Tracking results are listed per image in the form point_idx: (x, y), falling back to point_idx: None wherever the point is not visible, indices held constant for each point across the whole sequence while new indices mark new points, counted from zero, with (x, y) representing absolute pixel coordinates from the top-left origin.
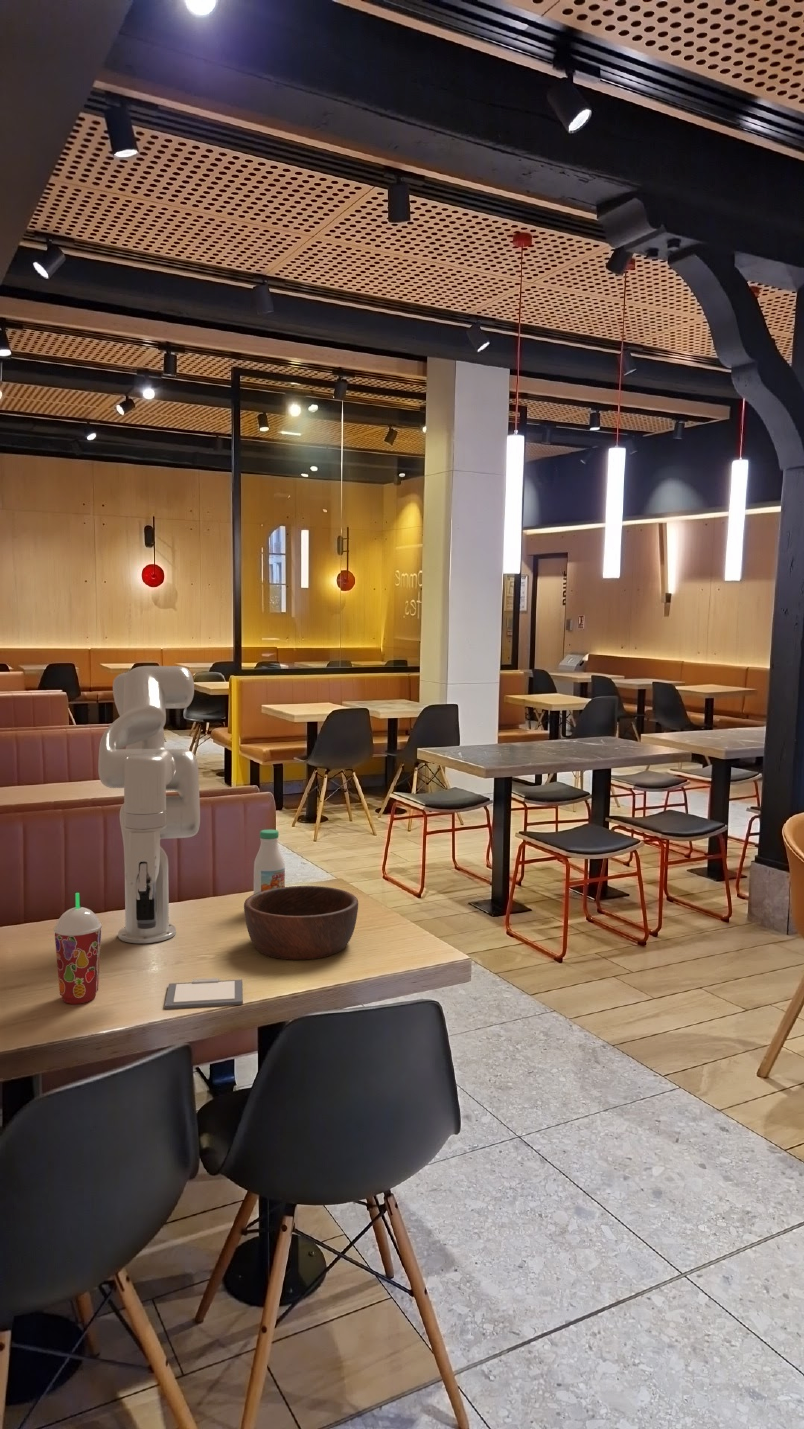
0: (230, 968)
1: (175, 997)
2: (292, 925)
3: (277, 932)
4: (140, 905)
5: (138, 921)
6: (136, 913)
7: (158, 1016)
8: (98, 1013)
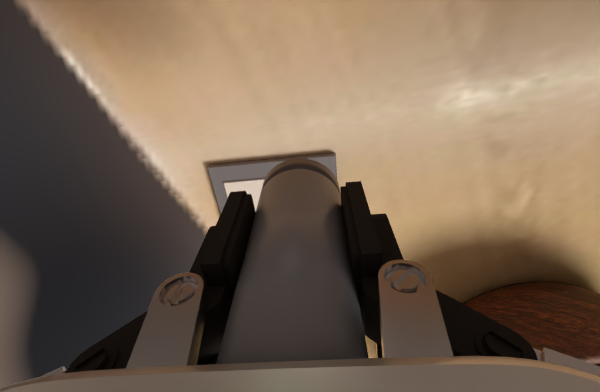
0: (422, 249)
1: (247, 183)
2: None
3: None
4: (193, 264)
5: (270, 182)
6: (224, 208)
7: (172, 159)
8: (164, 14)
